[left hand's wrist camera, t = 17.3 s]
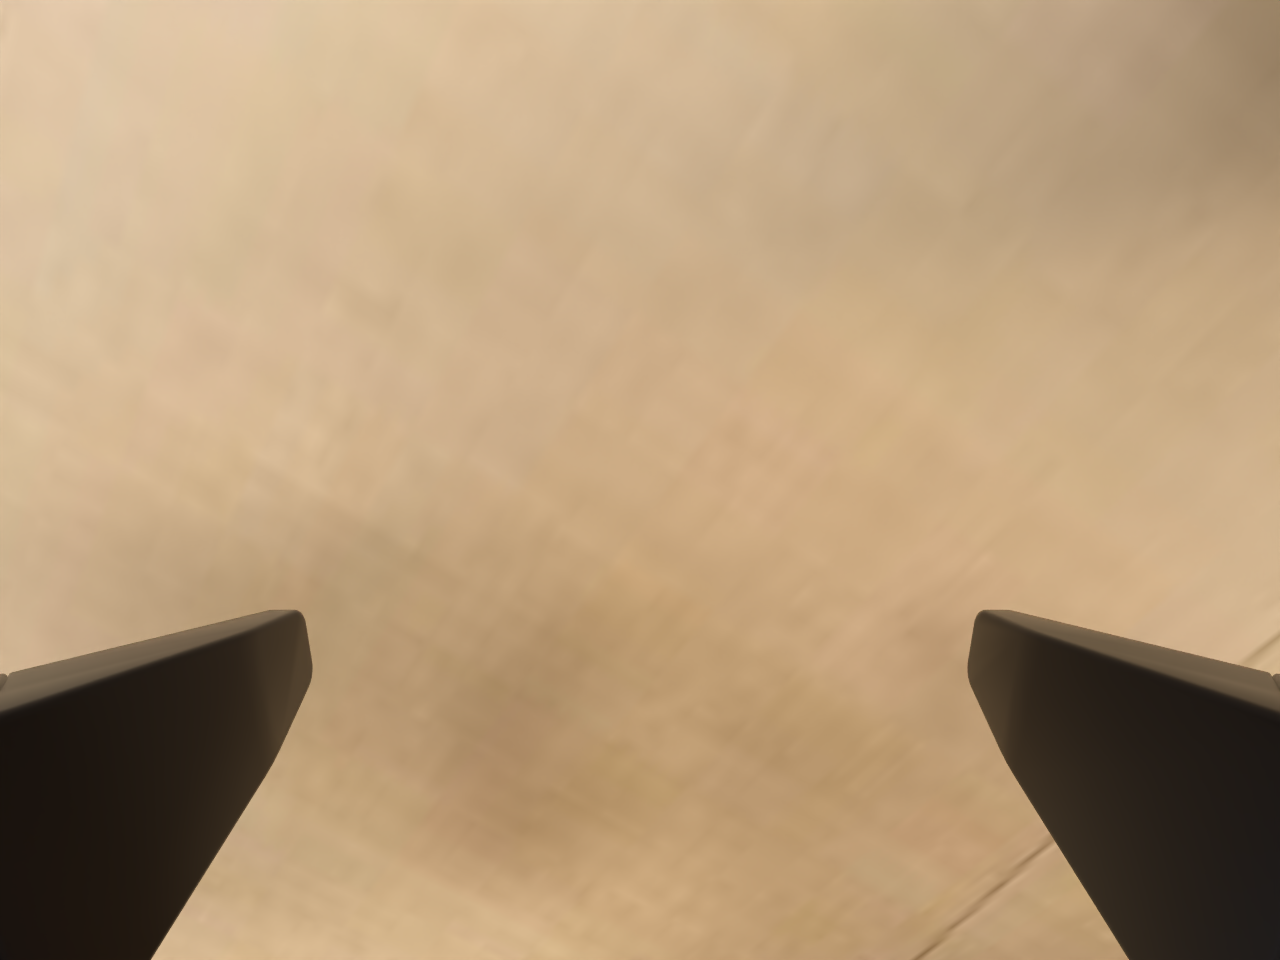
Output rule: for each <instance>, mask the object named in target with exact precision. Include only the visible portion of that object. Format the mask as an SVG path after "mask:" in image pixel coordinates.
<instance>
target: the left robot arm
mask: <svg viewBox="0 0 1280 960" xmlns="http://www.w3.org/2000/svg"><path fill="white" fill-rule="evenodd" d="M311 678H312V659H311V652H310V646H309V640H308V634H307V628H306V622H305V619H304V616H303V614H302V613H301V612H300V611H297V610H269V611H265V612H260V613H256V614H252V615H248V616H244V617H240V618H236V619H231V620H227V621H223V622H219V623H215V624H211V625H207V626H202V627H198V628H194V629H190V630H186V631H182V632H178V633H173V634H169V635H165V636H161V637H157V638H153V639H149V640H144V641H140V642H136V643H132V644H128V645H124V646H120V647H115V648H111V649H107V650H103V651H99V652H95V653H91V654H86V655H82V656H78V657H74V658H70V659H66V660H62V661H58V662H53V663H49V664H45V665H41V666H37V667H33V668H29V669H24V670H20V671H16V672H12V673H10V674H9V676H8V677H7V675H5V674H0V960H151V959H152V957H153V955H154V954H155V952H156V951H157V949H158V947H159V946H160V944H161V943H162V941H163V939H164V938H165V936H166V935H167V933H168V931H169V930H170V928H171V927H172V925H173V923H174V922H175V920H176V919H177V917H178V915H179V914H180V912H181V911H182V909H183V907H184V906H185V904H186V903H187V901H188V899H189V898H190V896H191V895H192V893H193V891H194V890H195V888H196V887H197V885H198V883H199V882H200V880H201V879H202V877H203V875H204V874H205V872H206V871H207V869H208V867H209V866H210V864H211V863H212V861H213V859H214V858H215V856H216V855H217V853H218V851H219V850H220V848H221V847H222V845H223V843H224V842H225V840H226V839H227V837H228V835H229V834H230V832H231V831H232V829H233V827H234V826H235V824H236V823H237V821H238V819H239V818H240V816H241V815H242V813H243V811H244V810H245V808H246V807H247V805H248V803H249V802H250V800H251V799H252V797H253V795H254V794H255V792H256V791H257V789H258V787H259V786H260V784H261V783H262V781H263V779H264V778H265V776H266V774H267V773H268V771H269V769H270V767H271V766H272V764H273V762H274V760H275V758H276V756H277V754H278V752H279V750H280V748H281V746H282V744H283V742H284V740H285V737H286V735H287V733H288V731H289V729H290V727H291V724H292V722H293V720H294V718H295V716H296V713H297V711H298V709H299V707H300V705H301V703H302V700H303V698H304V696H305V694H306V692H307V689H308V687H309V685H310V682H311ZM968 678H969V682H970V685H971V687H972V689H973V692H974V694H975V696H976V698H977V700H978V703H979V705H980V707H981V709H982V711H983V713H984V716H985V718H986V720H987V722H988V724H989V727H990V729H991V731H992V733H993V735H994V737H995V740H996V742H997V744H998V746H999V748H1000V750H1001V752H1002V754H1003V756H1004V758H1005V760H1006V762H1007V764H1008V766H1009V767H1010V769H1011V771H1012V773H1013V774H1014V776H1015V778H1016V779H1017V781H1018V783H1019V784H1020V786H1021V787H1022V789H1023V791H1024V792H1025V794H1026V795H1027V797H1028V799H1029V800H1030V802H1031V803H1032V805H1033V807H1034V808H1035V810H1036V811H1037V813H1038V815H1039V816H1040V818H1041V819H1042V821H1043V823H1044V824H1045V826H1046V827H1047V829H1048V831H1049V832H1050V834H1051V835H1052V837H1053V839H1054V840H1055V842H1056V843H1057V845H1058V847H1059V848H1060V850H1061V851H1062V853H1063V855H1064V856H1065V858H1066V859H1067V861H1068V863H1069V864H1070V866H1071V867H1072V869H1073V871H1074V872H1075V874H1076V875H1077V877H1078V879H1079V880H1080V882H1081V883H1082V885H1083V887H1084V888H1085V890H1086V891H1087V893H1088V895H1089V896H1090V898H1091V899H1092V901H1093V903H1094V904H1095V906H1096V907H1097V909H1098V911H1099V912H1100V914H1101V915H1102V917H1103V919H1104V920H1105V922H1106V923H1107V925H1108V927H1109V928H1110V930H1111V931H1112V933H1113V935H1114V936H1115V938H1116V939H1117V941H1118V943H1119V944H1120V946H1121V947H1122V949H1123V951H1124V952H1125V954H1126V955H1127V957H1128V959H1129V960H1280V674H1275V675H1273V677H1272V676H1271V674H1270V673H1268V672H1264V671H1260V670H1256V669H1252V668H1248V667H1243V666H1239V665H1235V664H1231V663H1227V662H1223V661H1219V660H1214V659H1210V658H1206V657H1202V656H1198V655H1194V654H1190V653H1185V652H1181V651H1177V650H1173V649H1169V648H1165V647H1161V646H1156V645H1152V644H1148V643H1144V642H1140V641H1136V640H1131V639H1127V638H1123V637H1119V636H1115V635H1111V634H1107V633H1102V632H1098V631H1094V630H1090V629H1086V628H1082V627H1078V626H1073V625H1069V624H1065V623H1061V622H1057V621H1053V620H1049V619H1044V618H1040V617H1036V616H1032V615H1028V614H1024V613H1020V612H1015V611H1011V610H983V611H980V612H979V613H978V614H977V616H976V619H975V622H974V628H973V634H972V640H971V646H970V652H969V659H968Z"/></svg>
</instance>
